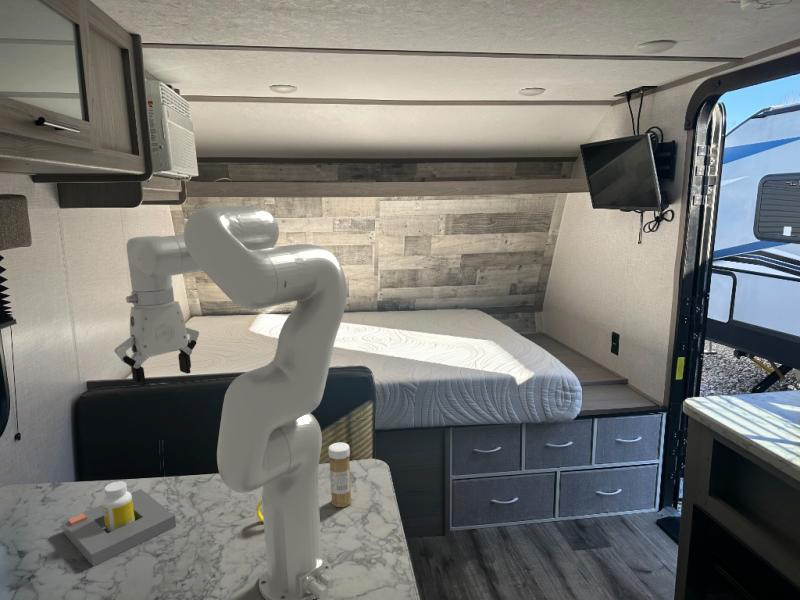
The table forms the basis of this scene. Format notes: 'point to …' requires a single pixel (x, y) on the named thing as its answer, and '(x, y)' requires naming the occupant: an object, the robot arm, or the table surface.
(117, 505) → the supplement bottle
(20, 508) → the table surface
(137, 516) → the block with square hole
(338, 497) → the sprinkles bottle
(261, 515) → the watch
